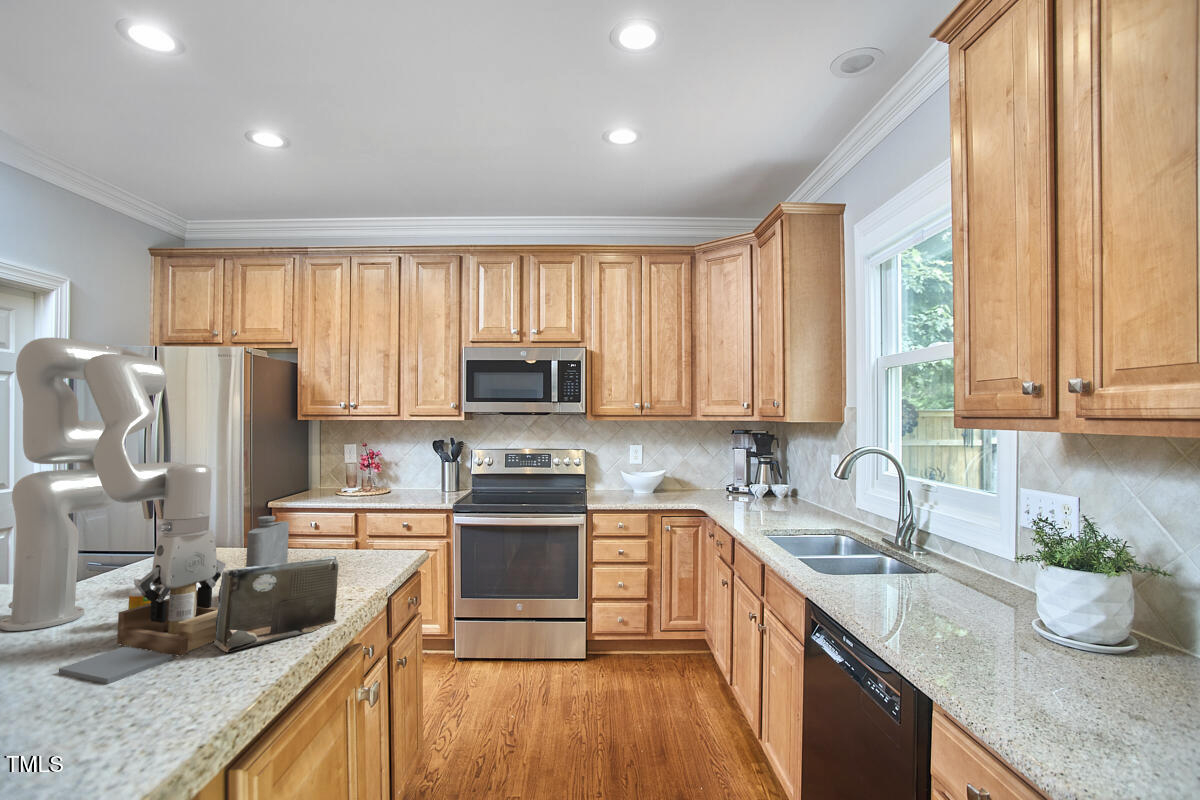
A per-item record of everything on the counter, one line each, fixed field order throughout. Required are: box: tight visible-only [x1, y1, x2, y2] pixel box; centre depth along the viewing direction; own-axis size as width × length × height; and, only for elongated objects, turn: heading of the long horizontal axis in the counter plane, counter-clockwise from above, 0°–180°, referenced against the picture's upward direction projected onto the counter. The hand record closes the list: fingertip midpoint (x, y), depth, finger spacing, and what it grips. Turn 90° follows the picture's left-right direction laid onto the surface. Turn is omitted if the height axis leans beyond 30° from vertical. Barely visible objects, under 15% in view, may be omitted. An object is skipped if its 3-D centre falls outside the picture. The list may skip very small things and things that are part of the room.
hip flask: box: [245, 515, 290, 568], centre depth 133 cm, size 16×4×20 cm, turn 6°
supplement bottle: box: [127, 574, 162, 610], centre depth 116 cm, size 5×5×10 cm
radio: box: [213, 555, 339, 653], centre depth 112 cm, size 23×9×15 cm, turn 138°
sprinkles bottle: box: [167, 583, 196, 635], centre depth 111 cm, size 5×5×13 cm
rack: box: [116, 590, 218, 657], centre depth 110 cm, size 17×15×6 cm
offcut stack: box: [177, 610, 218, 652], centre depth 108 cm, size 4×11×4 cm, turn 162°
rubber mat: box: [58, 646, 173, 685], centre depth 96 cm, size 12×10×1 cm
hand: (182, 613), depth 110 cm, fingers open, 8 cm apart
